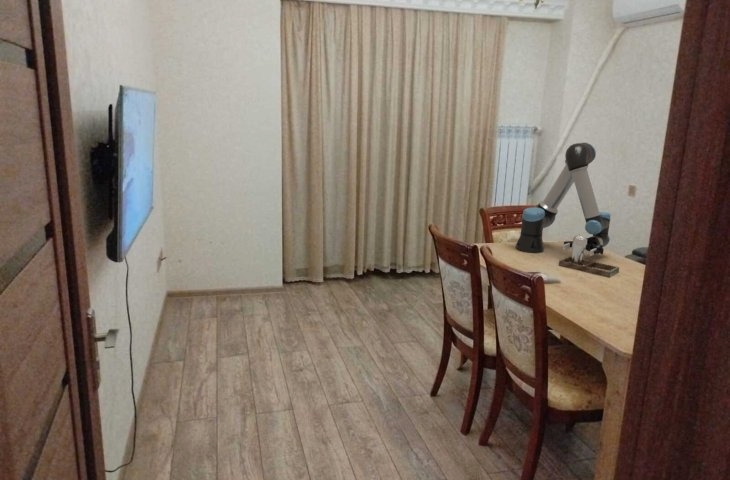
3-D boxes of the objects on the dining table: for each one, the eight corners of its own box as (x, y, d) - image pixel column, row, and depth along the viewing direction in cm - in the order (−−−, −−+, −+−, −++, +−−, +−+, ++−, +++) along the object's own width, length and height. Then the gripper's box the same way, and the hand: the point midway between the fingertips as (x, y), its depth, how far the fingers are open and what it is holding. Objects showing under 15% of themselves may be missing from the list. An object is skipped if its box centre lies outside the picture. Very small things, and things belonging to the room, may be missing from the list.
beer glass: (568, 266, 261) (572, 238, 257) (570, 263, 267) (573, 235, 263) (583, 269, 258) (587, 240, 254) (584, 265, 264) (588, 237, 260)
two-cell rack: (558, 265, 262) (559, 260, 262) (569, 261, 271) (569, 256, 271) (609, 277, 245) (609, 272, 245) (618, 272, 254) (619, 267, 254)
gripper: (616, 255, 266) (601, 262, 251) (569, 245, 282) (552, 252, 267) (618, 241, 264) (603, 248, 249) (570, 232, 280) (554, 238, 265)
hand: (576, 250), depth 258 cm, fingers open, 13 cm apart
